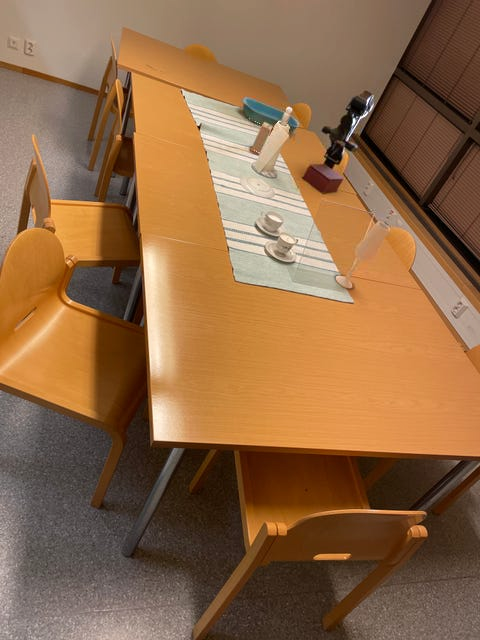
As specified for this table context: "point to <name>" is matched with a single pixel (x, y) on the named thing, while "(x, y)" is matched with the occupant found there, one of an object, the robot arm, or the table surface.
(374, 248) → the champagne flute
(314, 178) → the dark red open box
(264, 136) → the supplement box
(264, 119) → the casserole dish
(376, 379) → the table surface
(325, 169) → the flap
